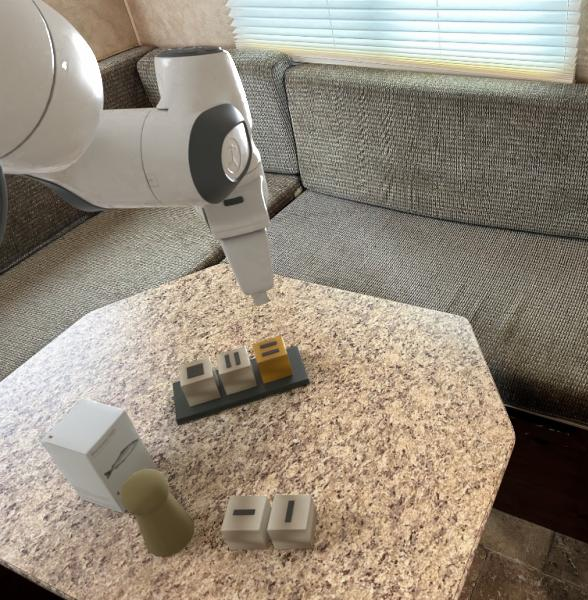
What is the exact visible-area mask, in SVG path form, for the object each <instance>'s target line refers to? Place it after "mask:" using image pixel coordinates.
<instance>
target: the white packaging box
mask: <svg viewBox="0 0 588 600" xmlns="http://www.w3.org/2000/svg"><path fill="white" fill-rule="evenodd" d="M40 444H41V445H42V446H43V448H44V449H45V450H46V452H47V453H48V455H49V456H50V457H51V459H52V460H53V461H54V463H55V465H56V466H57V467H58V469H59V470H60V472H61V473H62V474H63V476H64V477H65V478H66V480H67V481H68V483H69V484H70V485H71V487H72V488H73V490H74V491H75V492H76V494H77V496H79V498H80V499H81V500H83V501H85V502H88V503H91V504H94V505H97V506H100V507H103V508H105V509H109V510H112V511H114V512H118V513H120V514H124V513H125V512H126V511H127V510H126V508H125V507H124V506H123V504H122V502H121V496H120V493H121V489H122V486H123V484H124V482H125V481H126V480H127V479H128V478H129V477H130V476H131V475H132V474H134V473H135V472H137V471H140V470H143V469H154V470H157V471H158V467H157V465H156V463H155V461H154V459H153V457H152V456H151V454H150V452H149V450H148V448H147V447H146V445H145V443H144V442H143V440H142V438H141V436H140V434H139V432H138V430H137V427H135V425H134V423H133V421H132V419H131V417H130V416H129V414H128V412H127V410H126V409H125V408H121V407H117V406H113V405H109V404H106V403H103V402H100V401H96V400H94V399H93V400H92V399H89V398H86V397H82V398H81V399H80V400H79V401H78V402H77V403H76V404H75V405H74V406H73V407H72V408H71V409H70V410H69V411H68V412H67V413H66V414H65V415H64V416H63V417H62V418H61V419H60V420H59V421H58V422H57V423H56V424H55V425H54V426H53V427H52V428H51V429H50V430H49V431H48V432H47V433H46V435H44V437H42V438H41V439H40Z"/></svg>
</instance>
